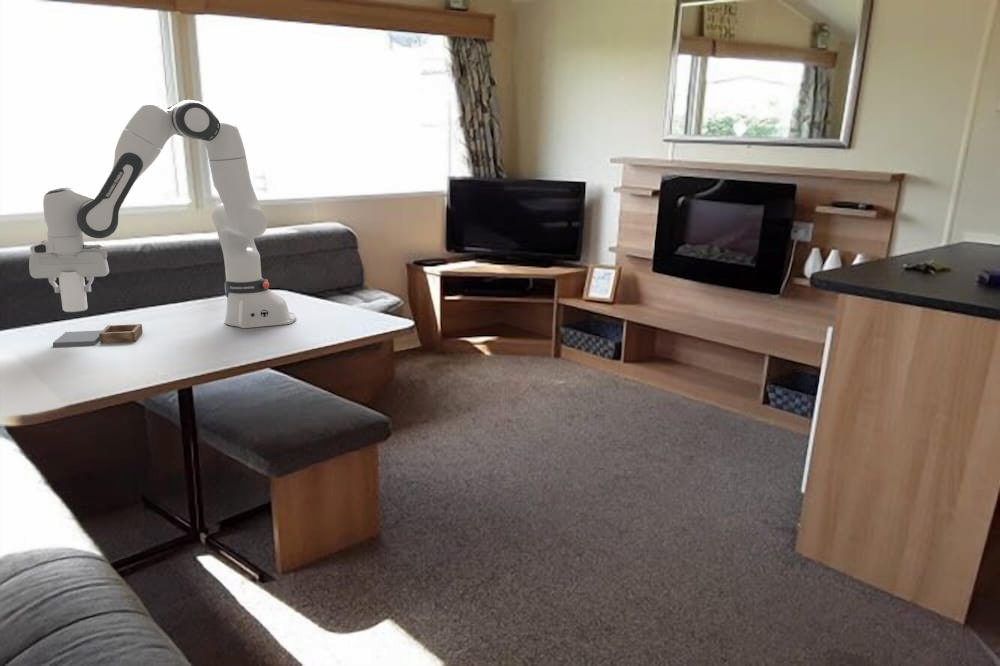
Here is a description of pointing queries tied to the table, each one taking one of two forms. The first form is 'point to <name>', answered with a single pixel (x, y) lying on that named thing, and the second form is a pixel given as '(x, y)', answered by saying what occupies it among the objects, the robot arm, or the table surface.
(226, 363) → the table surface
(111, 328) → the square wooden frame
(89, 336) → the coaster
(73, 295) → the can
